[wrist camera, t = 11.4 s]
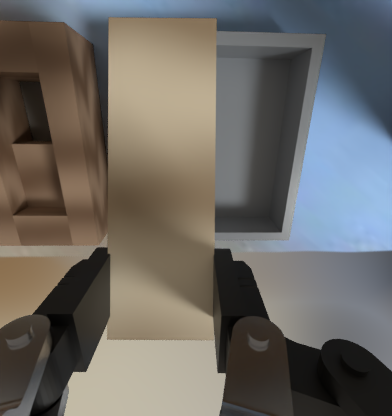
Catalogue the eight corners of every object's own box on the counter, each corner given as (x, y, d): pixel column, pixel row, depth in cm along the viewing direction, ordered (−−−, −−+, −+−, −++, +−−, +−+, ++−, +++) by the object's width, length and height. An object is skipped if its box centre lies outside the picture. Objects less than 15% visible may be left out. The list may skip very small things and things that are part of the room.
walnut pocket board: (-18, 41, 24) (-83, 18, 18) (93, 44, 24) (63, 22, 18) (30, 222, 31) (-5, 245, 25) (114, 222, 31) (98, 245, 26)
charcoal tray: (127, 45, 24) (113, 28, 19) (300, 49, 25) (326, 34, 20) (141, 222, 31) (133, 240, 27) (274, 222, 32) (288, 240, 27)
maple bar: (128, 59, 11) (108, 17, 9) (212, 60, 11) (216, 18, 9) (126, 309, 11) (107, 339, 9) (209, 310, 11) (213, 340, 9)
